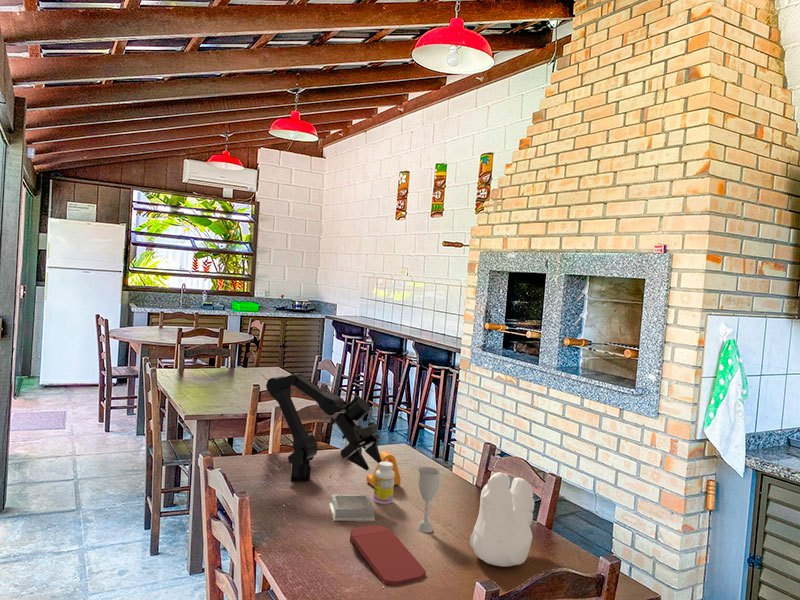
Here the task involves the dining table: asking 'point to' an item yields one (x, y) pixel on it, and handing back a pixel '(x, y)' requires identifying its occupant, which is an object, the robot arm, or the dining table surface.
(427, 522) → the chalice
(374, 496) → the supplement bottle
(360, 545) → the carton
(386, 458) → the bracket
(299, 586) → the dining table surface
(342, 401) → the robot arm
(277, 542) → the dining table surface
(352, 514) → the square shallow tray
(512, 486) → the white bunny figurine
